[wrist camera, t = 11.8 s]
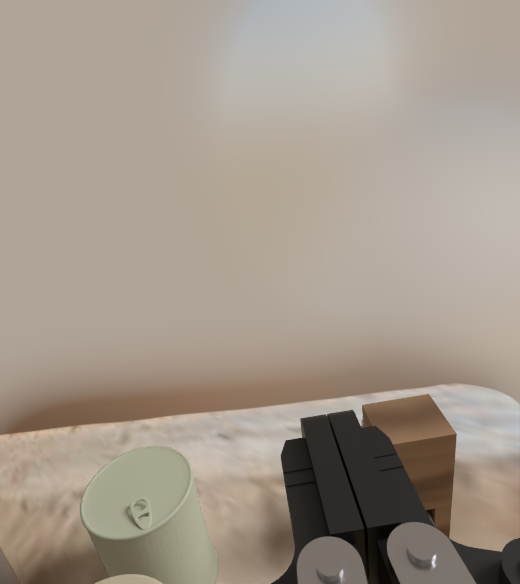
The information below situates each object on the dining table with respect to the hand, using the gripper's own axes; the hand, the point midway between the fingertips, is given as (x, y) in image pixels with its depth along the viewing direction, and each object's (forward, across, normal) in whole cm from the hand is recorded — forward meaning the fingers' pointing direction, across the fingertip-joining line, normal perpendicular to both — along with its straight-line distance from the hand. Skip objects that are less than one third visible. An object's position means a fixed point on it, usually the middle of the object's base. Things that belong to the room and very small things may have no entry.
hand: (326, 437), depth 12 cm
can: (+17, +13, +30) cm, 37 cm away
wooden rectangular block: (+18, -10, +30) cm, 36 cm away
